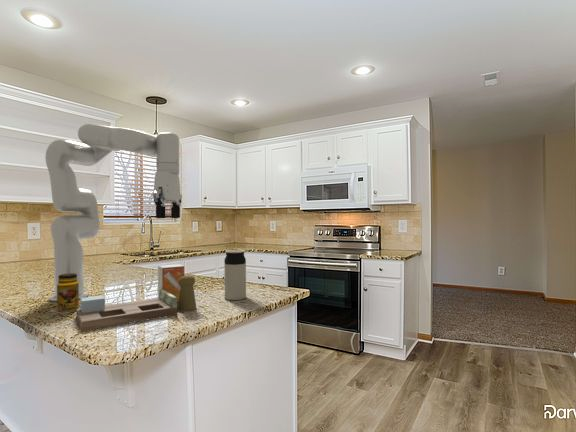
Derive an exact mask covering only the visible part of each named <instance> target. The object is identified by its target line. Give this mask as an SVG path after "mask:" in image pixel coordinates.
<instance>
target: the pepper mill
mask: <svg viewBox="0 0 576 432" xmlns="http://www.w3.org/2000/svg"><path fill="white" fill-rule="evenodd" d="M195 283H196V280H195V277H194V276H192V275H184V276H183V277H181V278H180V279H179V285H180V286H181V287H180V295H179V302H177V312H178V311H179V312H192V311H195V310H197V303H196V296H195V289H194V286H195Z"/></svg>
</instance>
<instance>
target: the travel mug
mask: <svg viewBox="0 0 576 432" xmlns="http://www.w3.org/2000/svg"><path fill="white" fill-rule="evenodd" d="M224 252H225V258H224V299H225V300H228V301H241V300H244V299H245V298H246V297H247V260H246V257H245V252H246V250H245V249H227V250H224Z"/></svg>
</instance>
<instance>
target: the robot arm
mask: <svg viewBox="0 0 576 432" xmlns="http://www.w3.org/2000/svg"><path fill="white" fill-rule="evenodd" d="M77 137H78V139H79V141H81V142H77V141H74V140H69V139H68V140H67V139H56V140H53V141H51V143H50V144H49V145H48V146H47V148H46V151H45V157H44V159H45V165H46V168H47V170H48V176H49V178H50V180H49V181H50V192H51V198H52V205H53V208H54V210H56V211H58V212H61V213H77V215H75V214H70V215H69V214H67V215H60V216H58V217H56V218H54V219H53V221H52V222H51V224H50V233H51V236H52V241H53V253H54V254H53V258H54V259H53V261H54V265H53V266H54V267H53V268H54V273H53V274H54V294H52V295H50V296H49V300H50V301H52V302H57V284H58V283H59V282H58V280H59V278H58V276H59V275H62V274H70V273H74V274H77V282H78V286H79V300H81V298H85V297H89V292H88V291H84V289H85V288H84V287H85V286H84V284H85V281H84V280H85V279H84V277H85V276H84V274H85V273H84V271H85V270H84V249H83V245H82V244H81V242H80V241H79V240H86V239H87V240H88V239H93V238H95V237H96V236H97V235H98V233H99V231H100V216H99V209H98V208H99V207H98V201H97V197H96V196H95V194H94V193H93V192H92V191H91V190H89V189H86V188H79V187H78V184H77V176H76V173H75V172H74V170H73V168H72V167H71V165H79V166H84V167H91V166H95V165H96V164H98V163H99V162H100V161H102V160H103V159H104V158H106V157H107V156H108V155H109V154H111V153H112V152H120V151H125V152H131V153H135V154H140V155H144V156H146V157H152V158H156V172H155V176H154V185H153V186H154V187H153V191H152V197H153V202H154V206H155V218H156V219H166V206H165V204H166V203H168V202H170V204H171V208H170V218H171V219H180V218H181V206H182V205H181V203H182V198H183V195H182V193H181V184H180V177H179V174H180V137H179V135H178V134H176V133H173V132H159V133H158V134H157V135H153V134H150V133H148V132H147V133H146V132H145V131H141V130H136V129H133V128H132V129H130V128H125V127H116V126H108V125H103V124H97V123H85V124H83V125H81V126H80V127H79V128H78V130H77ZM70 164H71V165H70Z"/></svg>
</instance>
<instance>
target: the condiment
mask: <svg viewBox="0 0 576 432" xmlns="http://www.w3.org/2000/svg"><path fill="white" fill-rule="evenodd" d="M58 278H59V280H58V282H59V283H58V284H57V301H56V302H57V303H56V306H57V308H56V309H55V308H54V309H51V310H47V312H49V313H50V312H51V313H57V314H63V315H64V314H69V313H73V312H77V309H81V306H79V305H80V304H79V301H80V299H79V286H78V282H77V274H74V273H70V274H62V275H59V276H58Z"/></svg>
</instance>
